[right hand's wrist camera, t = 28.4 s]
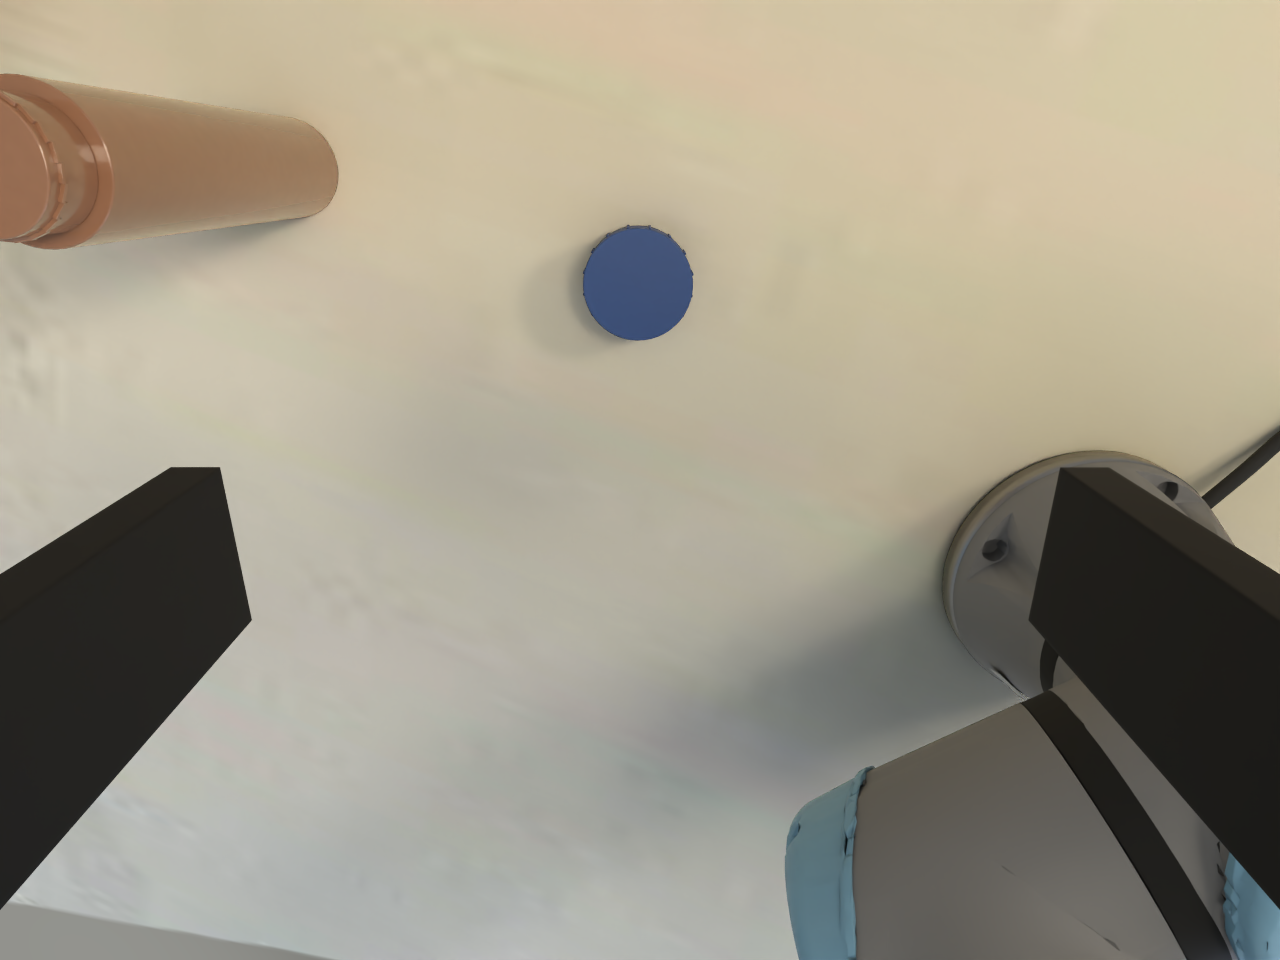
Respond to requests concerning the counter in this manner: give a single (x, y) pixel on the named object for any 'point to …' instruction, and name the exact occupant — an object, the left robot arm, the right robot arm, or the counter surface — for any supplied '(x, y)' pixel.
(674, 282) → the lid
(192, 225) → the jar
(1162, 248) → the counter surface
